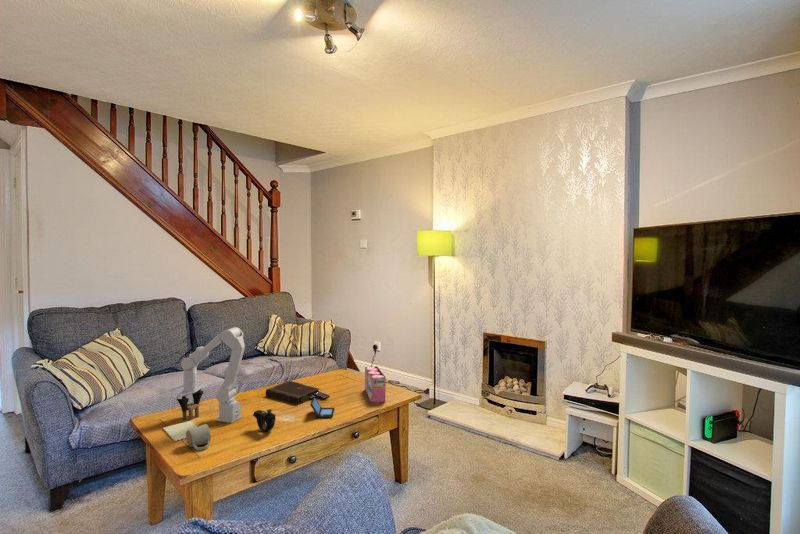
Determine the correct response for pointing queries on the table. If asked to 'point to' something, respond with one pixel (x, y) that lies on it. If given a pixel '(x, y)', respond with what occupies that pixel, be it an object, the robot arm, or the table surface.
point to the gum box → (375, 384)
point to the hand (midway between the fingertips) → (190, 409)
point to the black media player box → (291, 392)
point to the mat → (179, 430)
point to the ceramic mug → (198, 437)
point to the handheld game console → (321, 410)
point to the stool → (191, 411)
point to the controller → (265, 419)
